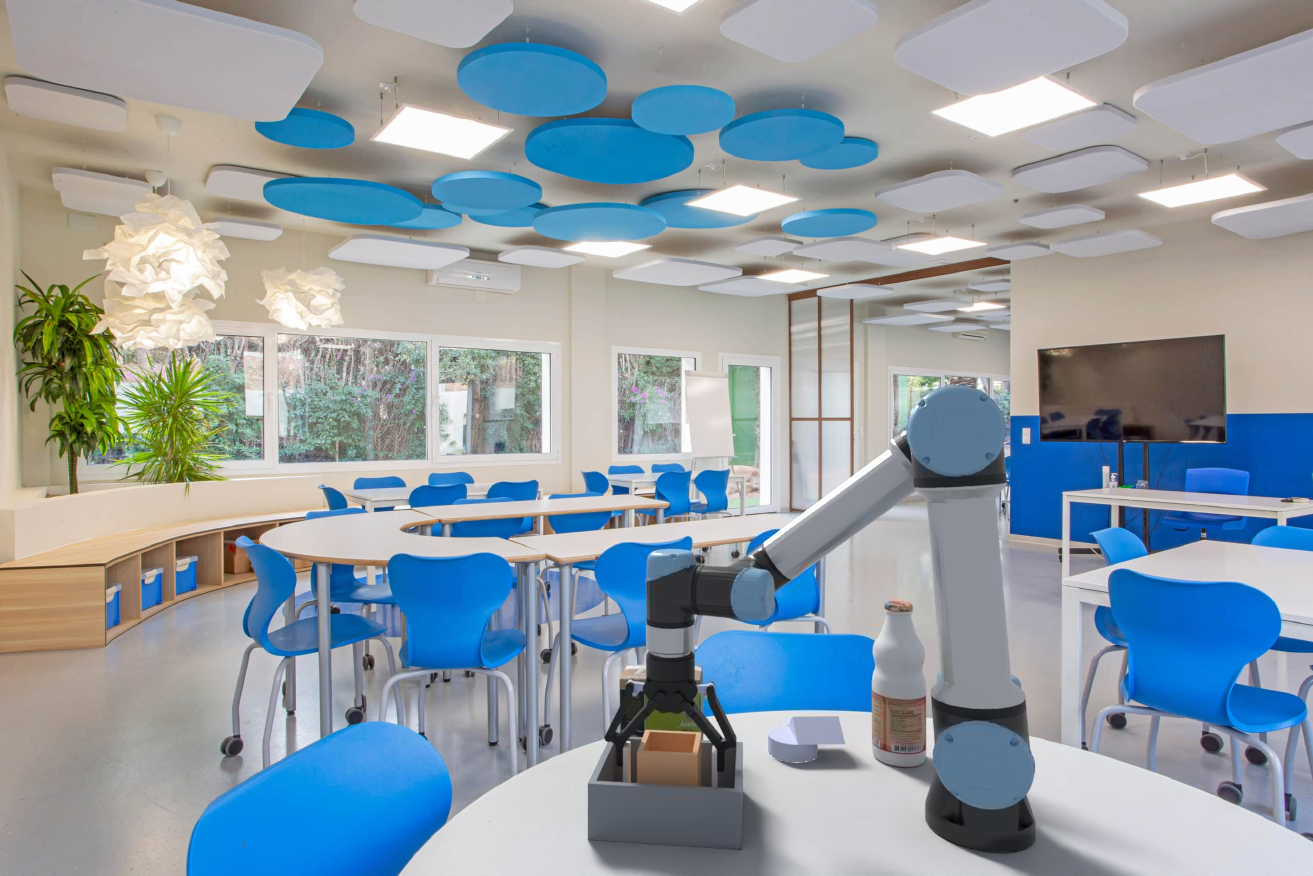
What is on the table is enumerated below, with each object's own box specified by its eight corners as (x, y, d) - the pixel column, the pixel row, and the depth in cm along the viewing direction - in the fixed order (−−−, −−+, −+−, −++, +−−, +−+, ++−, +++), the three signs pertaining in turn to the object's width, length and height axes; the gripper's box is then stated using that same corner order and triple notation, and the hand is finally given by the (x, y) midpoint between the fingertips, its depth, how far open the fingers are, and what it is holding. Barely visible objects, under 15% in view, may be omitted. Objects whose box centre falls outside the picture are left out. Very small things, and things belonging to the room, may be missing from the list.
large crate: (742, 791, 123) (742, 742, 123) (741, 849, 106) (741, 792, 106) (610, 783, 126) (610, 735, 126) (587, 839, 108) (587, 783, 108)
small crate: (701, 795, 120) (701, 732, 120) (697, 823, 111) (697, 755, 111) (645, 792, 121) (645, 729, 121) (637, 819, 112) (637, 752, 112)
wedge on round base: (832, 743, 144) (764, 743, 143) (832, 707, 144) (764, 708, 143) (845, 763, 135) (772, 763, 134) (845, 725, 135) (772, 726, 134)
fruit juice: (861, 755, 138) (860, 602, 138) (893, 743, 143) (892, 596, 144) (905, 773, 130) (904, 611, 130) (937, 760, 136) (936, 604, 136)
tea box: (704, 741, 144) (704, 664, 145) (702, 763, 134) (702, 680, 135) (626, 738, 146) (626, 661, 146) (618, 759, 136) (618, 677, 136)
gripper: (751, 647, 118) (752, 782, 118) (596, 642, 121) (595, 774, 121) (752, 660, 111) (752, 805, 111) (585, 654, 114) (585, 795, 114)
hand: (670, 789), depth 116 cm, fingers open, 13 cm apart
